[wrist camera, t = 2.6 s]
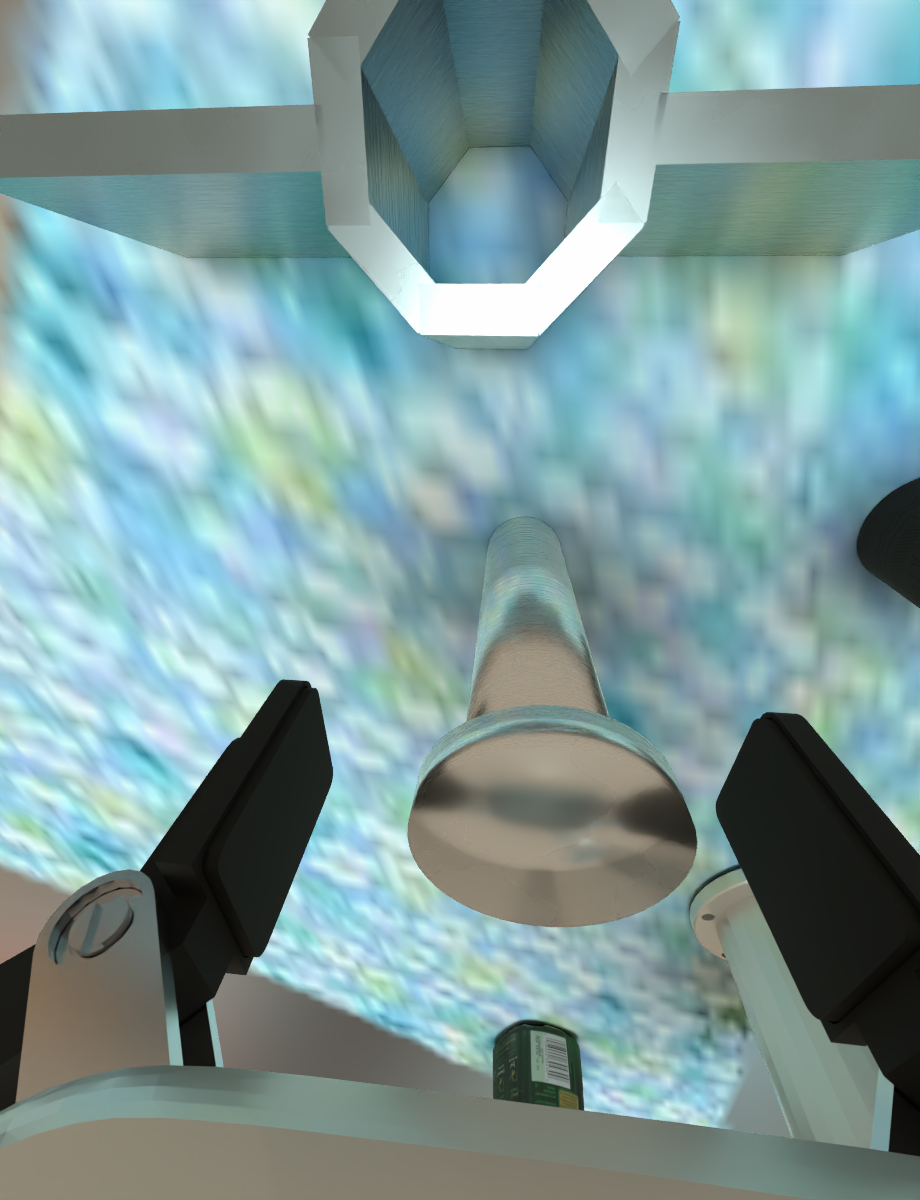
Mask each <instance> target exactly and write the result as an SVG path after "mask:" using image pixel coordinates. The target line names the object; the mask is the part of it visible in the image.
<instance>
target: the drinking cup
mask: <svg viewBox="0 0 920 1200" xmlns="http://www.w3.org/2000/svg"><path fill="white" fill-rule="evenodd" d="M858 554H859V558H860V560H861V562H862V564H863V565H864V566H865V568H866V569H867V570H868V571H870V572H871V573H872V574H874V575H875V576H876V577H878V578H879V579H881V580H882V581H883V582H885V583H886V584H887V585H889V586H890V587H891V588H893V589H894V590H895V591H897V592H898V593H900V594H901V595H902V596H904V597H905V598H906V599H908V600H909V601H910V602H912V603H913V604H915V605H916V606H917V607H919V608H920V479H917V480H915V481H912V482H910V483H908V484H906V485H904V486H902V487H900V488H899V489H897V490H896V491H894V492H893V493H891V494H890V495H889V496H887V497H886V498H885V499H884V500H882V501H881V502H880V503H879V504H878V505H877V506H876V507H875V509H874V510H873V511H872V512H871V513H870V515H869V516H868V518H867V519H866V521H865V523H864V524H863V526H862V529H861V531H860V534H859V538H858Z"/></svg>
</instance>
